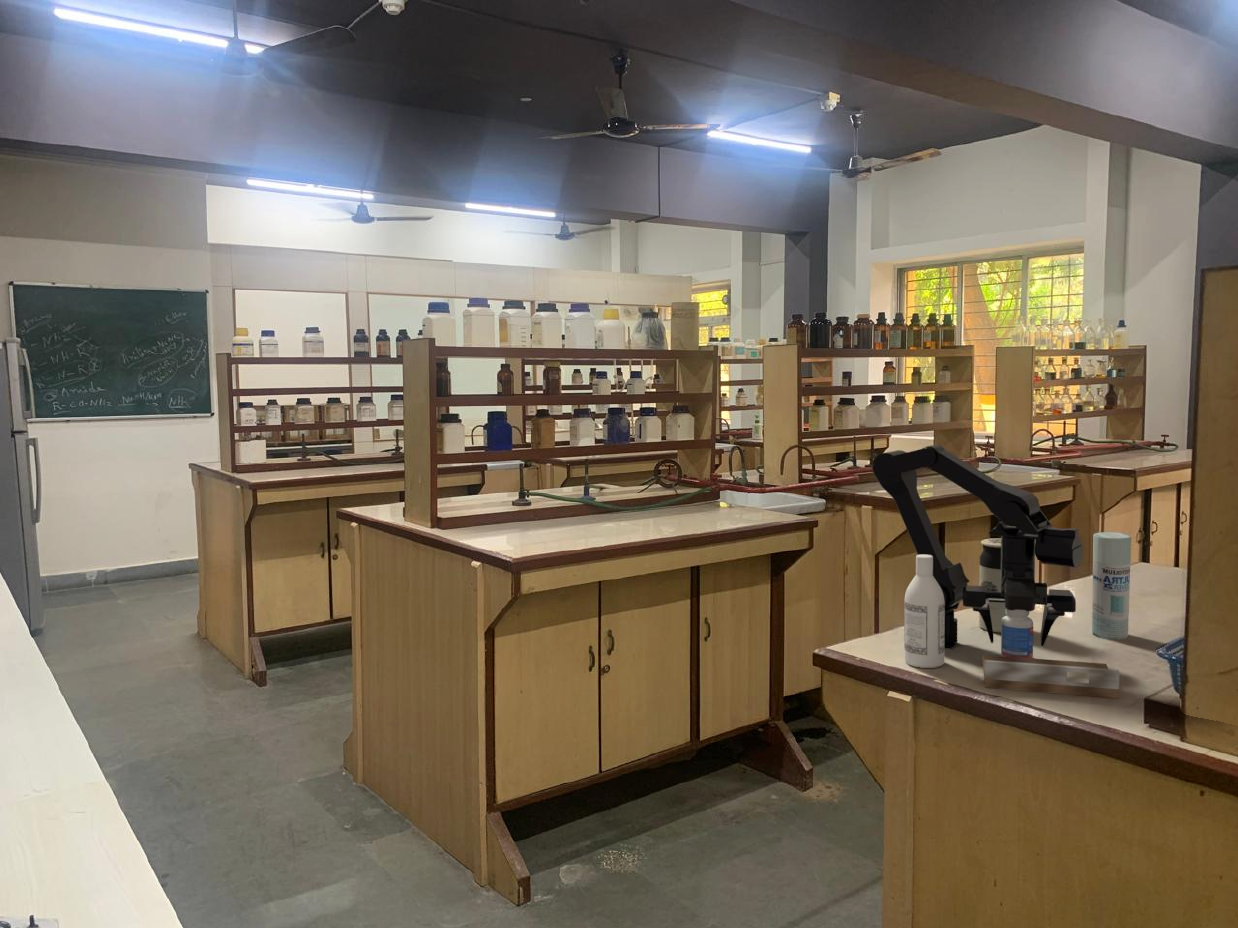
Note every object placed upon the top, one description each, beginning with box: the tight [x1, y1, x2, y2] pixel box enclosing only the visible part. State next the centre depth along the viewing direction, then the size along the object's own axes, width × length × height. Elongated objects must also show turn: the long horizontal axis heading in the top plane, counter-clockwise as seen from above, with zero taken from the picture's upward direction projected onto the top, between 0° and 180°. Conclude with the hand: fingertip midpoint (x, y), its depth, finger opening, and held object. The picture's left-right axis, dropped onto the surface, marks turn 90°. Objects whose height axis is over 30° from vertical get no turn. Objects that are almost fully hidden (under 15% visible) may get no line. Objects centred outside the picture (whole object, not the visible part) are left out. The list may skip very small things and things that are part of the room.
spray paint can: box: [1091, 531, 1132, 641], centre depth 177 cm, size 6×6×20 cm
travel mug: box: [978, 538, 1007, 634], centre depth 184 cm, size 8×8×18 cm
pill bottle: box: [1000, 609, 1034, 659], centre depth 166 cm, size 6×5×10 cm
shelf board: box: [982, 654, 1120, 699], centre depth 155 cm, size 20×13×4 cm, turn 70°
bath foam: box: [903, 554, 946, 669], centre depth 165 cm, size 7×7×20 cm
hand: (1016, 643), depth 167 cm, fingers open, 8 cm apart
